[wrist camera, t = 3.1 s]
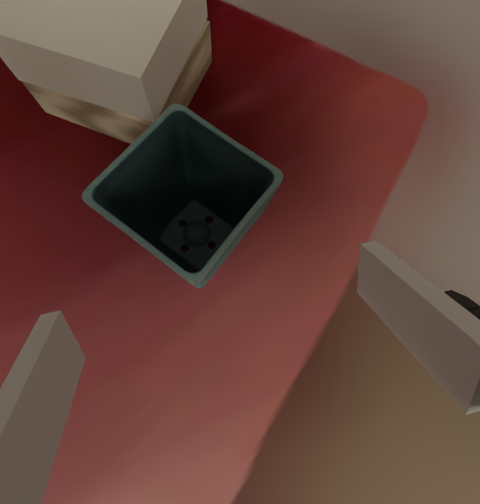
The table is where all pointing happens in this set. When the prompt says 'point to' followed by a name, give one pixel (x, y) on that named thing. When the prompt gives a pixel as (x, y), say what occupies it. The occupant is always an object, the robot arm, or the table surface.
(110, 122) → the bottom slab
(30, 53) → the top slab
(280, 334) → the table surface
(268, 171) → the flower pot
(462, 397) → the robot arm
